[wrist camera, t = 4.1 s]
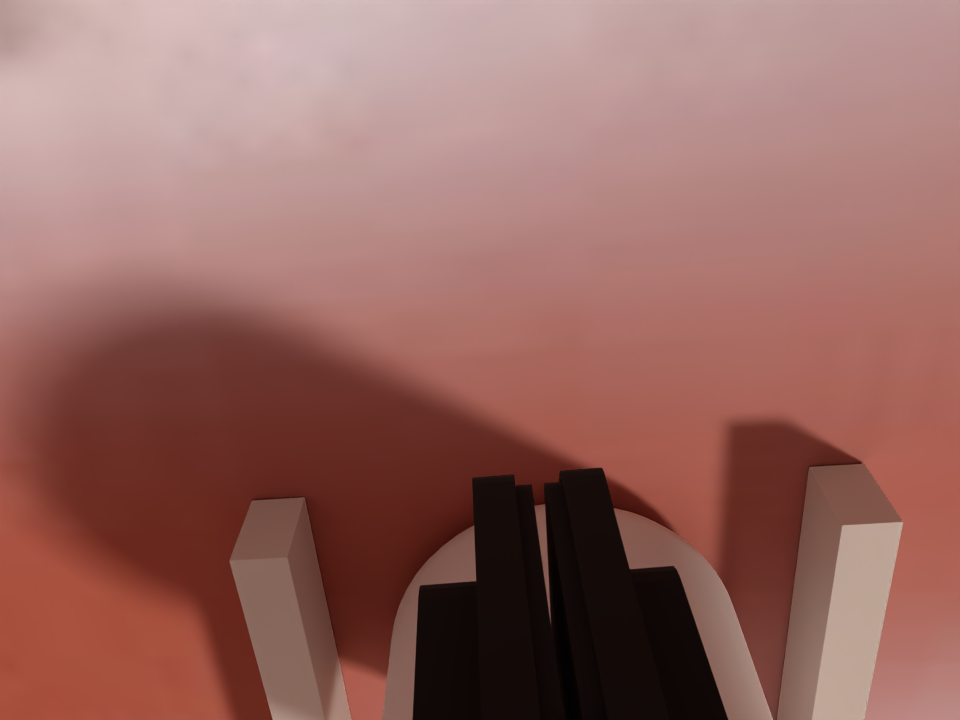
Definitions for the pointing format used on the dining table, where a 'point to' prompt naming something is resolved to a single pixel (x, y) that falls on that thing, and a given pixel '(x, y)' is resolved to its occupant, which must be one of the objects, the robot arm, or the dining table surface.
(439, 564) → the cup
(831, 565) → the cup pocket
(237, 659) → the dining table surface
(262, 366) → the dining table surface
